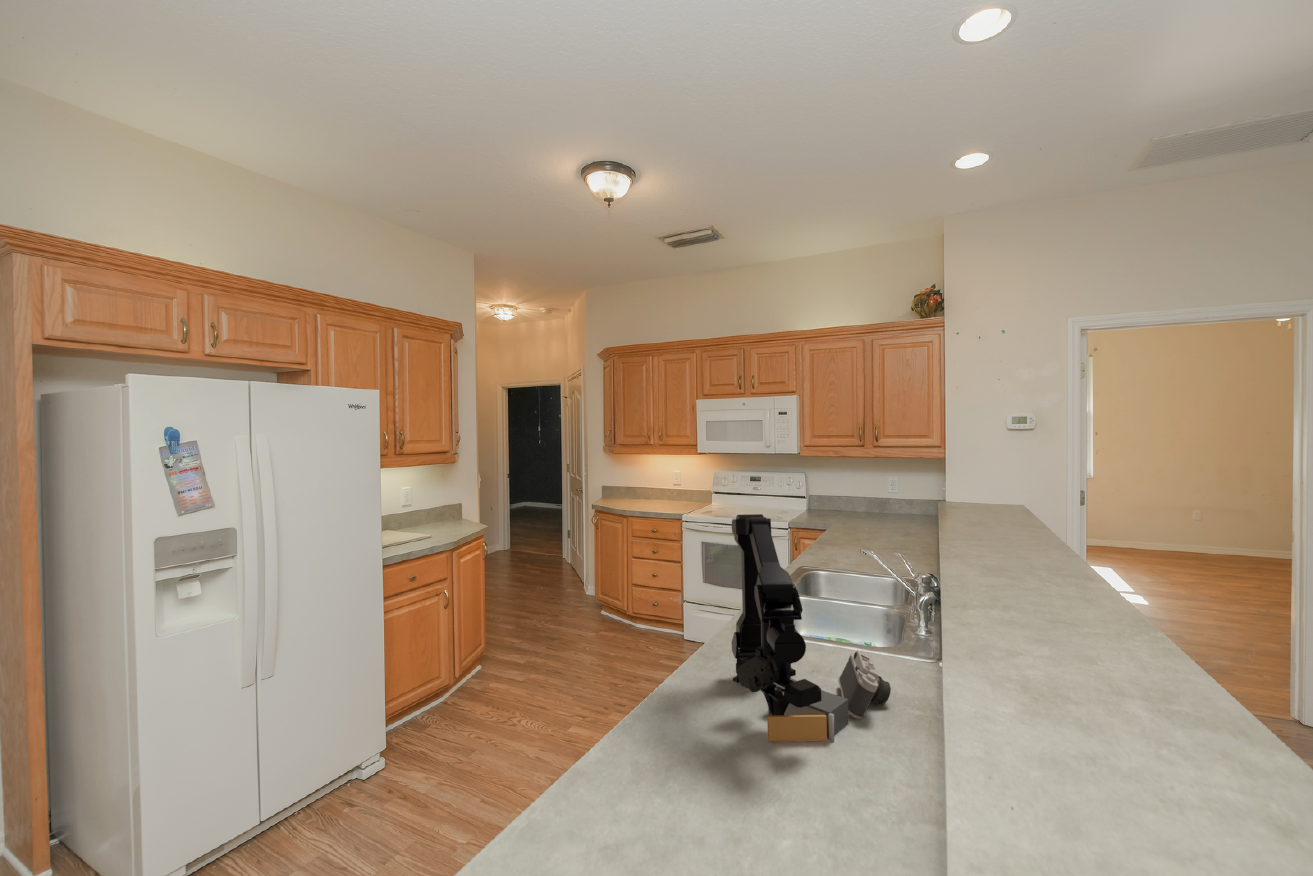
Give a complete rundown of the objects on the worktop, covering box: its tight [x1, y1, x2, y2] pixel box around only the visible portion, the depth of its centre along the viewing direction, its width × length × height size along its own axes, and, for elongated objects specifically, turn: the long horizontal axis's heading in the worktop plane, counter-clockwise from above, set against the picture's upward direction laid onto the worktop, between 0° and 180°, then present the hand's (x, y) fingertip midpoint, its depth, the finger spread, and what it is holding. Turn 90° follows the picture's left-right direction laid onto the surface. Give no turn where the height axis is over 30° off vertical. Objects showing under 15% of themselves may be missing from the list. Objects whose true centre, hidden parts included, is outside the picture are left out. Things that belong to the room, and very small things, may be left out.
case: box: [767, 689, 849, 743], centre depth 115 cm, size 15×9×5 cm, turn 45°
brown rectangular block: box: [767, 713, 828, 742], centre depth 108 cm, size 11×1×5 cm, turn 90°
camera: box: [838, 649, 892, 720], centre depth 122 cm, size 9×16×10 cm, turn 169°
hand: (776, 722), depth 110 cm, fingers closed
